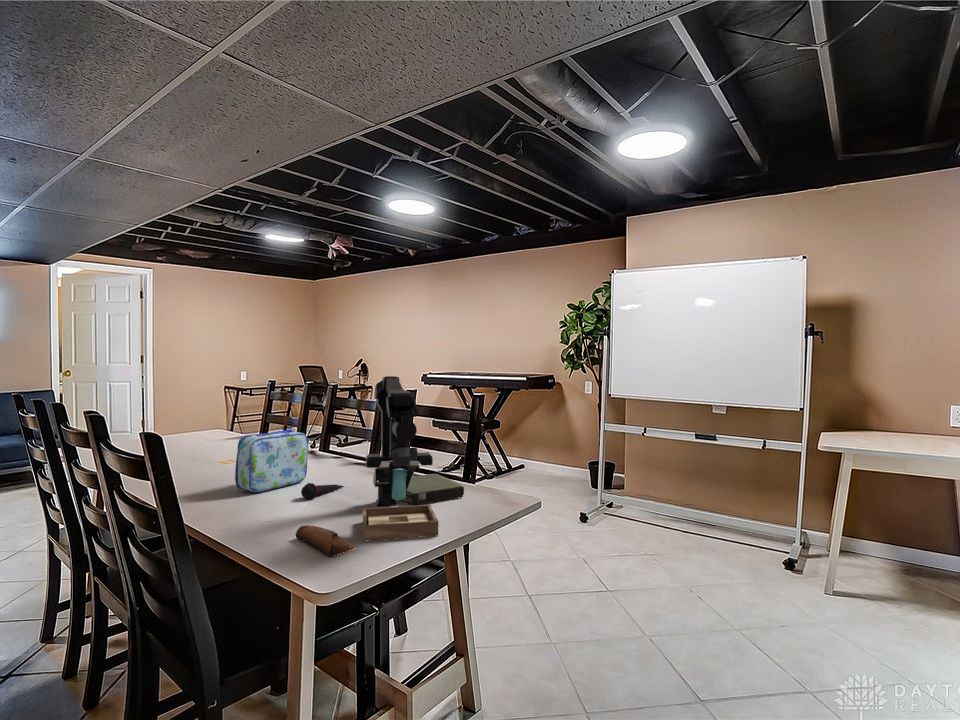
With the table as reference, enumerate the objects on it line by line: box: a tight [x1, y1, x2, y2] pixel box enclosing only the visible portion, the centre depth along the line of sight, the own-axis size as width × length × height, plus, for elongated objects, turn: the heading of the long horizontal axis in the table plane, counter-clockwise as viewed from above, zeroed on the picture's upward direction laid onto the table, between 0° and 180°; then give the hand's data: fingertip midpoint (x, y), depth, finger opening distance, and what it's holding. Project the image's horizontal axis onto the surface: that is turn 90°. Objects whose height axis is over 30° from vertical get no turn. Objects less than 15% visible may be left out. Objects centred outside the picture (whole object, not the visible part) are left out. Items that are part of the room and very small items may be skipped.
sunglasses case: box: [295, 525, 357, 558], centre depth 129 cm, size 18×7×7 cm
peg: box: [392, 468, 407, 501], centre depth 144 cm, size 4×4×8 cm
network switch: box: [401, 473, 465, 506], centre depth 178 cm, size 23×24×5 cm
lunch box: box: [234, 428, 309, 493], centre depth 186 cm, size 26×11×21 cm, turn 149°
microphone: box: [300, 482, 344, 500], centre depth 177 cm, size 6×6×20 cm
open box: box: [362, 504, 440, 542], centre depth 142 cm, size 16×20×4 cm
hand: (398, 489), depth 144 cm, fingers closed on peg, 4 cm apart
